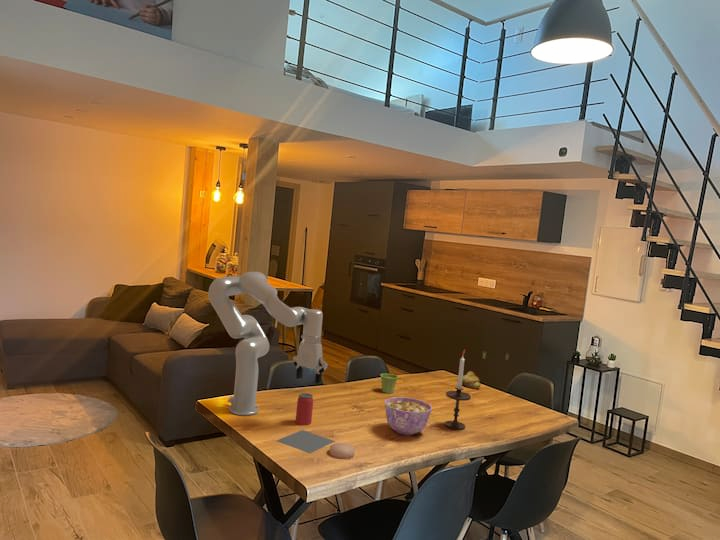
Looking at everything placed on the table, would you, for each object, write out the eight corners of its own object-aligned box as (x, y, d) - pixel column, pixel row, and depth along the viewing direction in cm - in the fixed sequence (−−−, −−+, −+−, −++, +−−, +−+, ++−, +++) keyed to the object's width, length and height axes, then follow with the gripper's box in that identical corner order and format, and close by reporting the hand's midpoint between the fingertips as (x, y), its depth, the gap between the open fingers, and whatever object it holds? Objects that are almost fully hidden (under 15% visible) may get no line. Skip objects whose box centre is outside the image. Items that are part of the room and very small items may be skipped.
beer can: (313, 422, 224) (316, 394, 223) (307, 427, 218) (309, 398, 217) (299, 419, 226) (302, 391, 225) (292, 424, 220) (295, 395, 219)
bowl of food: (395, 442, 212) (398, 413, 211) (374, 424, 230) (376, 397, 229) (438, 439, 220) (441, 411, 219) (414, 421, 238) (417, 396, 237)
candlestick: (462, 422, 244) (470, 346, 242) (470, 431, 233) (480, 352, 231) (439, 421, 242) (447, 345, 240) (447, 430, 231) (456, 350, 229)
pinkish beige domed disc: (324, 455, 193) (325, 448, 192) (337, 447, 200) (338, 441, 200) (345, 462, 188) (346, 455, 188) (358, 454, 196) (359, 447, 196)
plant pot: (377, 388, 286) (379, 372, 285) (394, 389, 287) (396, 374, 286) (380, 393, 277) (381, 377, 276) (398, 395, 278) (399, 378, 277)
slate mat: (275, 441, 200) (276, 440, 200) (302, 431, 213) (302, 429, 213) (309, 454, 191) (310, 453, 191) (335, 442, 205) (335, 441, 205)
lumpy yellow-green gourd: (483, 389, 306) (485, 376, 306) (469, 390, 302) (471, 376, 302) (470, 383, 318) (472, 370, 317) (457, 383, 314) (458, 370, 314)
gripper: (289, 337, 221) (286, 377, 222) (323, 344, 212) (320, 386, 213) (300, 335, 228) (297, 374, 228) (334, 342, 219) (330, 383, 219)
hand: (308, 380), depth 221 cm, fingers open, 9 cm apart
